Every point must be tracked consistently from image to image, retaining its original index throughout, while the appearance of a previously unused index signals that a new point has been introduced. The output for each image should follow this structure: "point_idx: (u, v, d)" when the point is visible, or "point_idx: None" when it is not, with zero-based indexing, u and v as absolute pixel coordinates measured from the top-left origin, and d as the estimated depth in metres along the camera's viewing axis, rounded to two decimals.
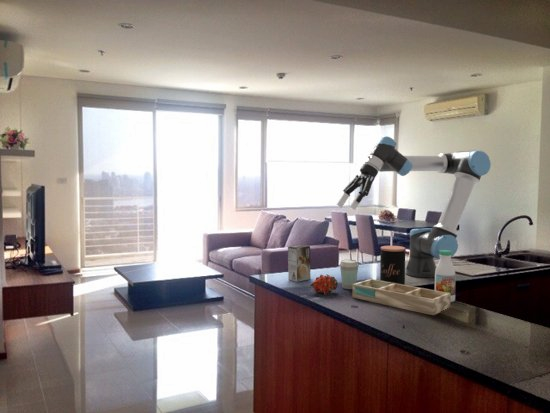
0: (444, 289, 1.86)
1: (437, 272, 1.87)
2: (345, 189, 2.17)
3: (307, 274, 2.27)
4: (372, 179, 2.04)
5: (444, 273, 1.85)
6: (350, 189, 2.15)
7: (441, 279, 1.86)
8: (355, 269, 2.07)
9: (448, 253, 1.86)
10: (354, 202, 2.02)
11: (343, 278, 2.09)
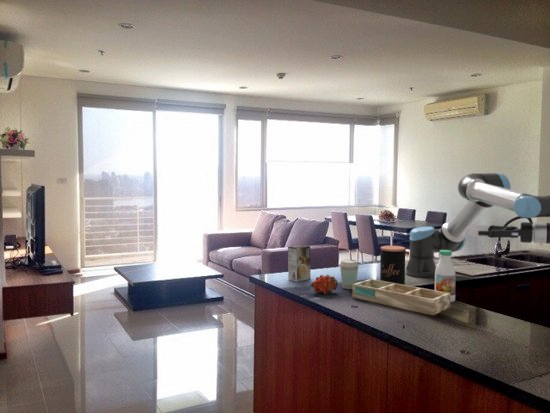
0: (444, 289, 1.86)
1: (437, 272, 1.87)
2: None
3: (307, 274, 2.27)
4: None
5: (444, 273, 1.85)
6: None
7: (441, 279, 1.86)
8: (355, 269, 2.07)
9: (448, 253, 1.86)
10: None
11: (343, 278, 2.09)
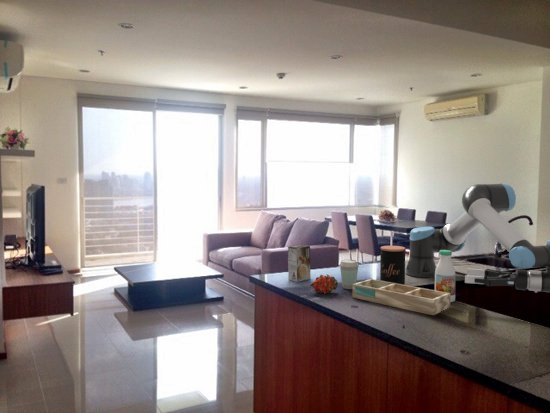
0: (444, 289, 1.86)
1: (437, 272, 1.87)
2: None
3: (307, 274, 2.27)
4: None
5: (444, 273, 1.85)
6: None
7: (441, 279, 1.86)
8: (355, 269, 2.07)
9: (448, 253, 1.86)
10: None
11: (343, 278, 2.09)
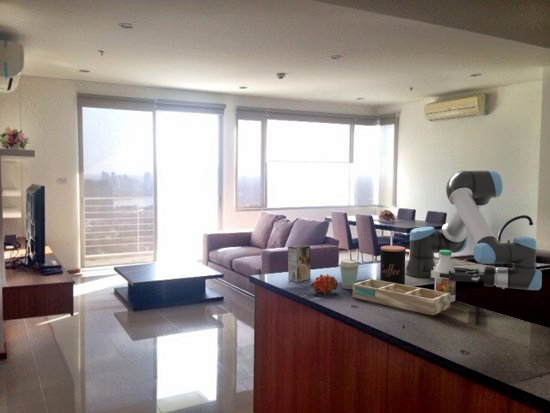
0: (444, 289, 1.86)
1: None
2: None
3: (307, 274, 2.27)
4: None
5: None
6: None
7: (441, 279, 1.86)
8: (355, 269, 2.07)
9: (448, 253, 1.86)
10: None
11: (343, 278, 2.09)
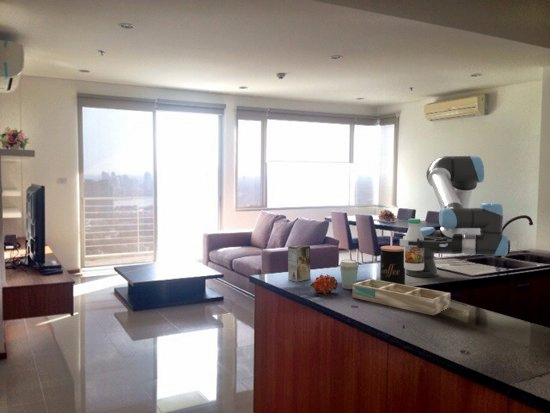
0: (413, 257, 1.85)
1: None
2: None
3: (307, 274, 2.27)
4: None
5: None
6: None
7: (410, 247, 1.85)
8: (355, 269, 2.07)
9: (417, 221, 1.85)
10: None
11: (343, 278, 2.09)
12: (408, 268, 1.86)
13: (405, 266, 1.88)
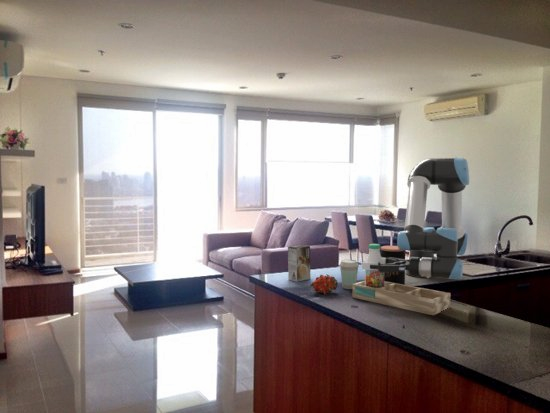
0: (372, 282, 1.91)
1: None
2: None
3: (307, 274, 2.27)
4: None
5: None
6: None
7: (370, 271, 1.91)
8: (355, 269, 2.07)
9: (376, 246, 1.91)
10: None
11: (343, 278, 2.09)
12: None
13: None
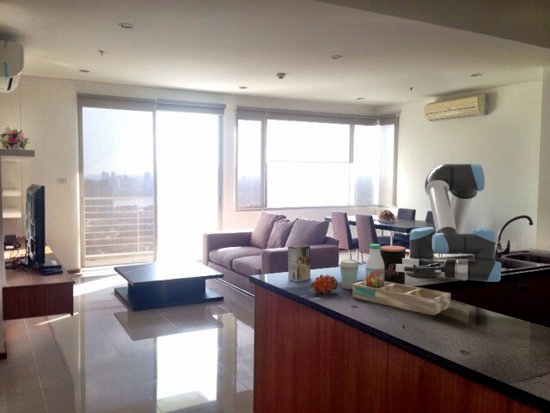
0: (373, 282, 1.91)
1: (366, 265, 1.93)
2: None
3: (307, 274, 2.27)
4: None
5: (372, 266, 1.91)
6: None
7: (370, 272, 1.91)
8: (355, 269, 2.07)
9: (377, 247, 1.91)
10: None
11: (343, 278, 2.09)
12: None
13: None
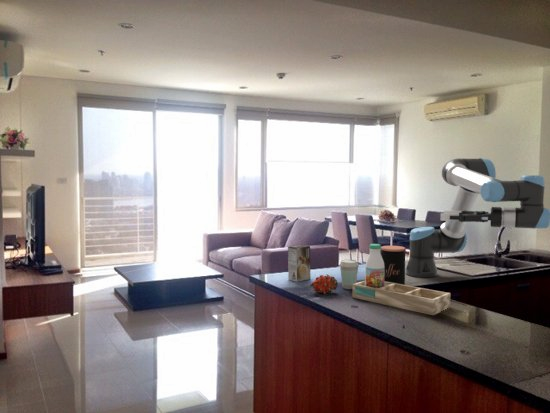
0: (373, 282, 1.91)
1: (367, 265, 1.93)
2: None
3: (307, 274, 2.27)
4: None
5: (372, 266, 1.91)
6: None
7: (370, 272, 1.91)
8: (355, 269, 2.07)
9: (377, 247, 1.91)
10: None
11: (343, 278, 2.09)
12: None
13: None
